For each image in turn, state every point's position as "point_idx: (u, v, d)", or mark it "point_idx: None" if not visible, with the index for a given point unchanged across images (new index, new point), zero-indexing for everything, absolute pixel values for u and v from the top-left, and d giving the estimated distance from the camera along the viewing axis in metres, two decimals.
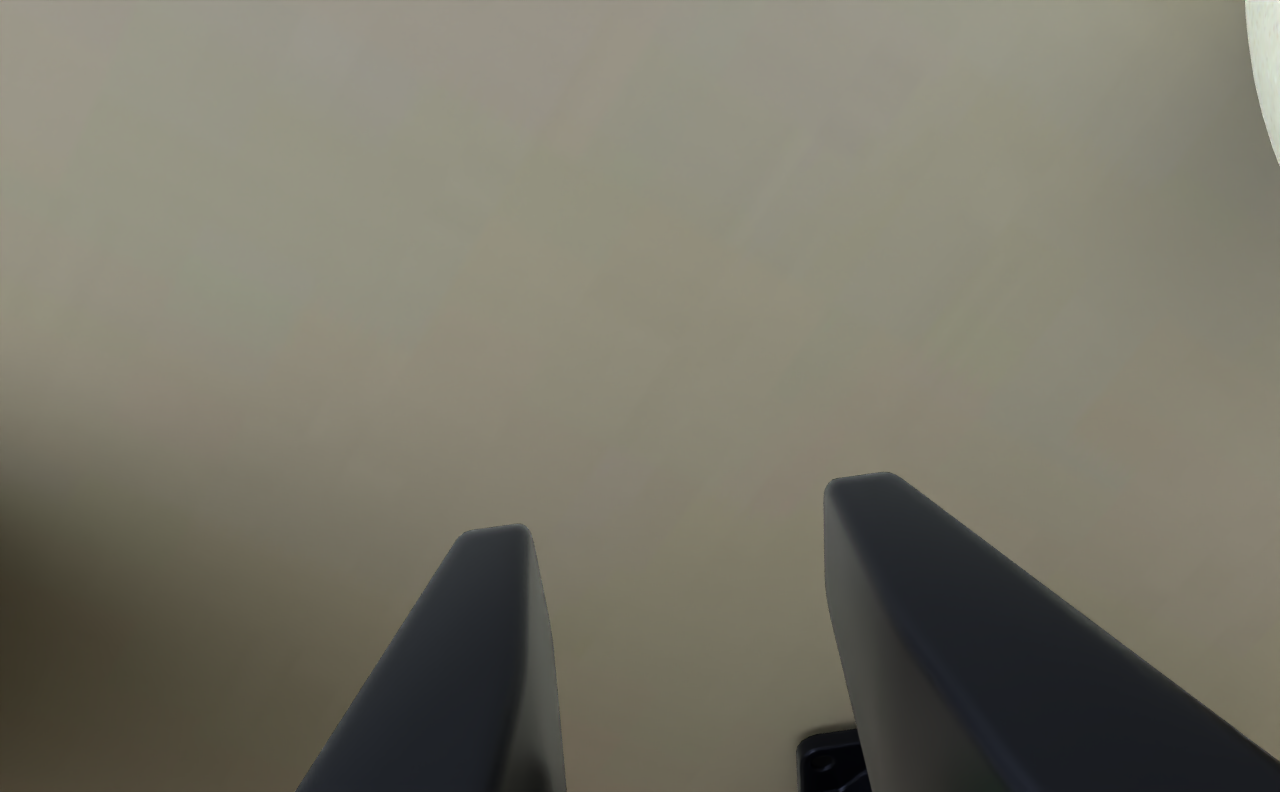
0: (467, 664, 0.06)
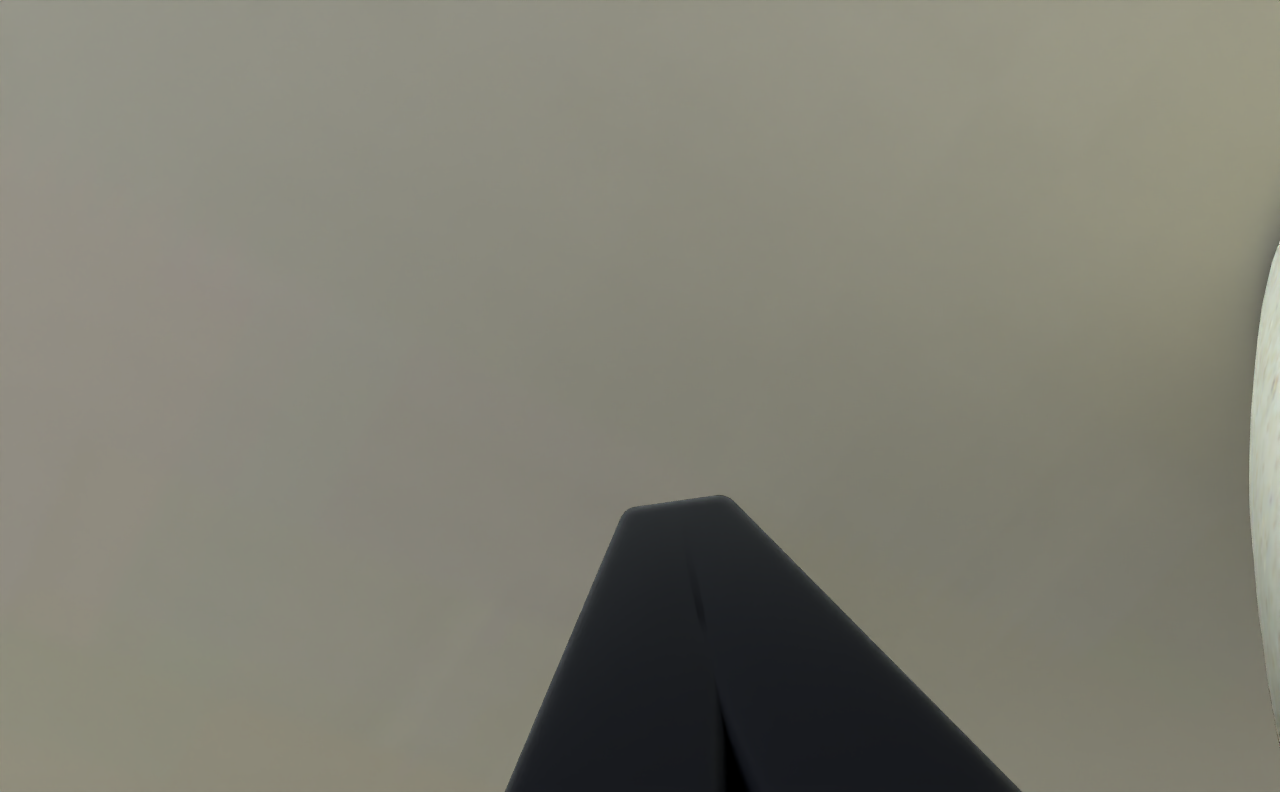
0: (666, 636, 0.06)
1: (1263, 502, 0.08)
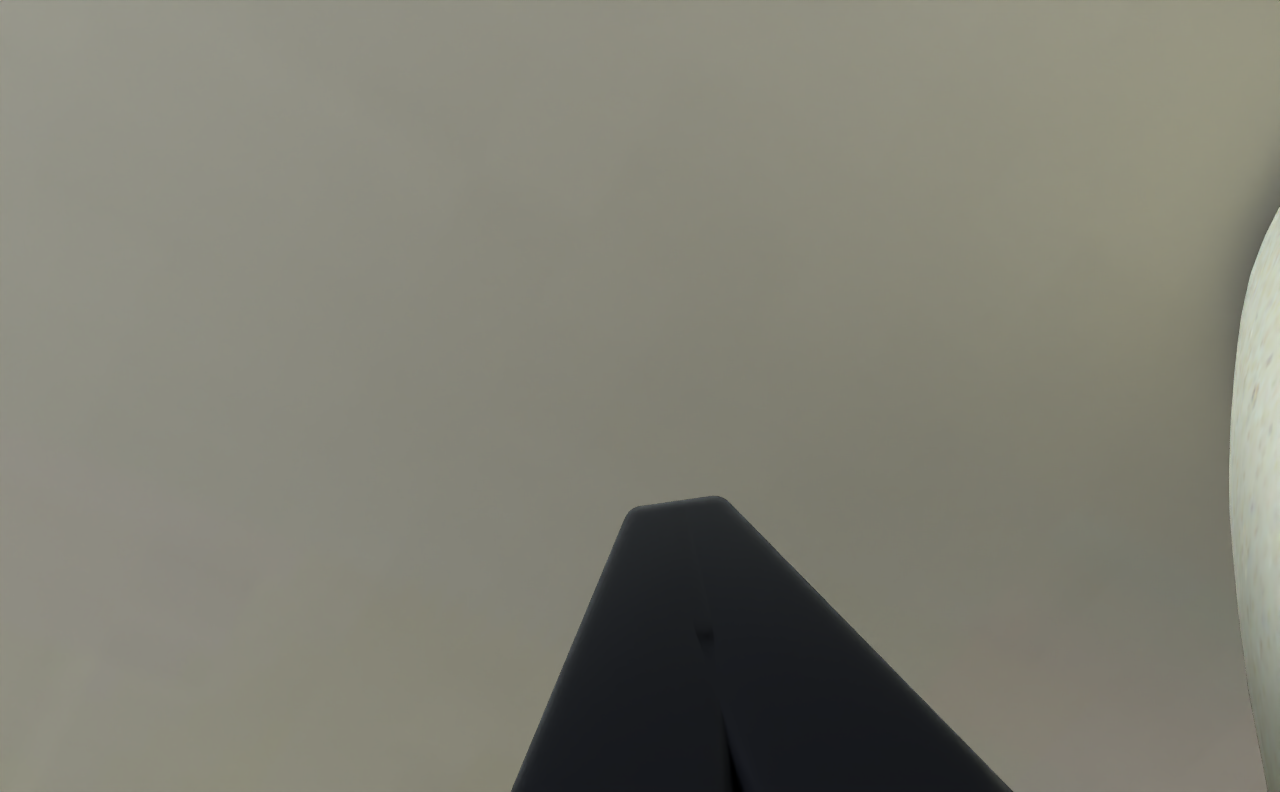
0: (671, 635, 0.06)
1: (1244, 510, 0.08)
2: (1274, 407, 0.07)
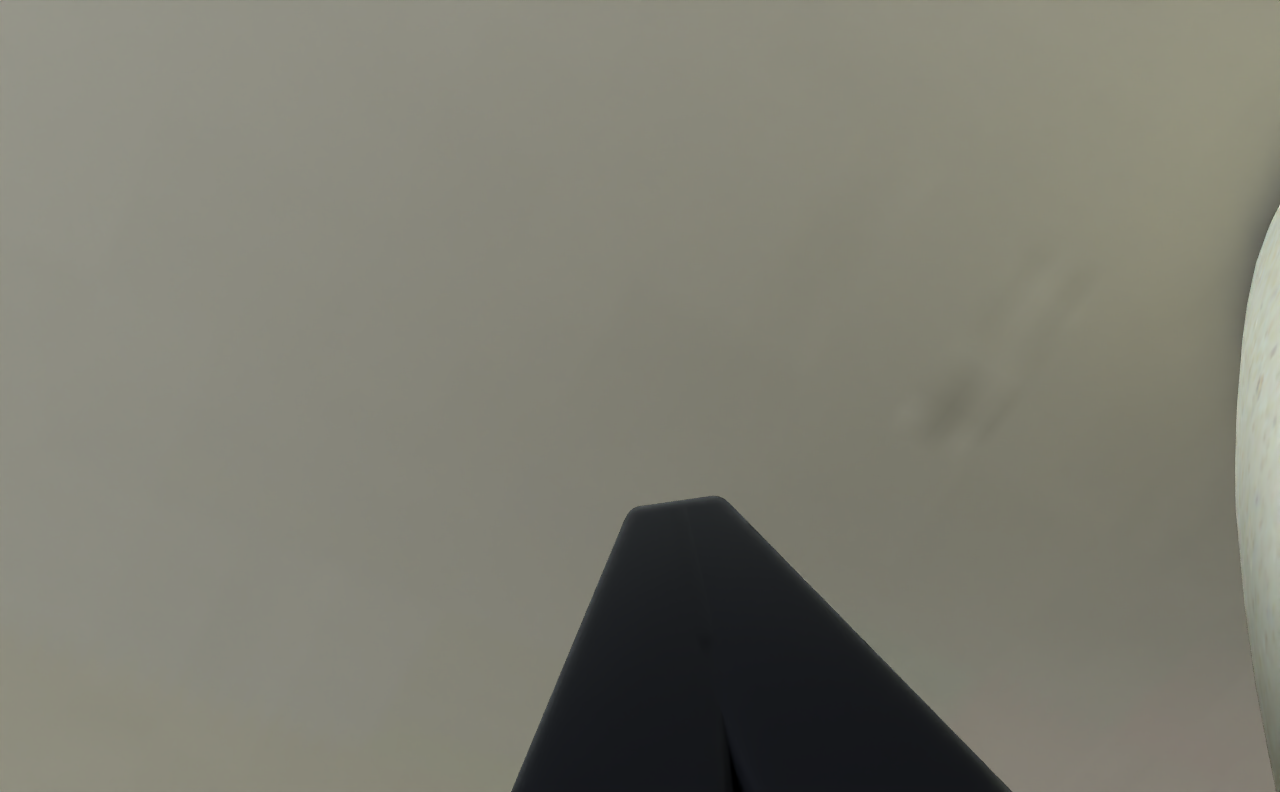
0: (672, 635, 0.06)
1: (1249, 502, 0.08)
2: (1278, 399, 0.07)
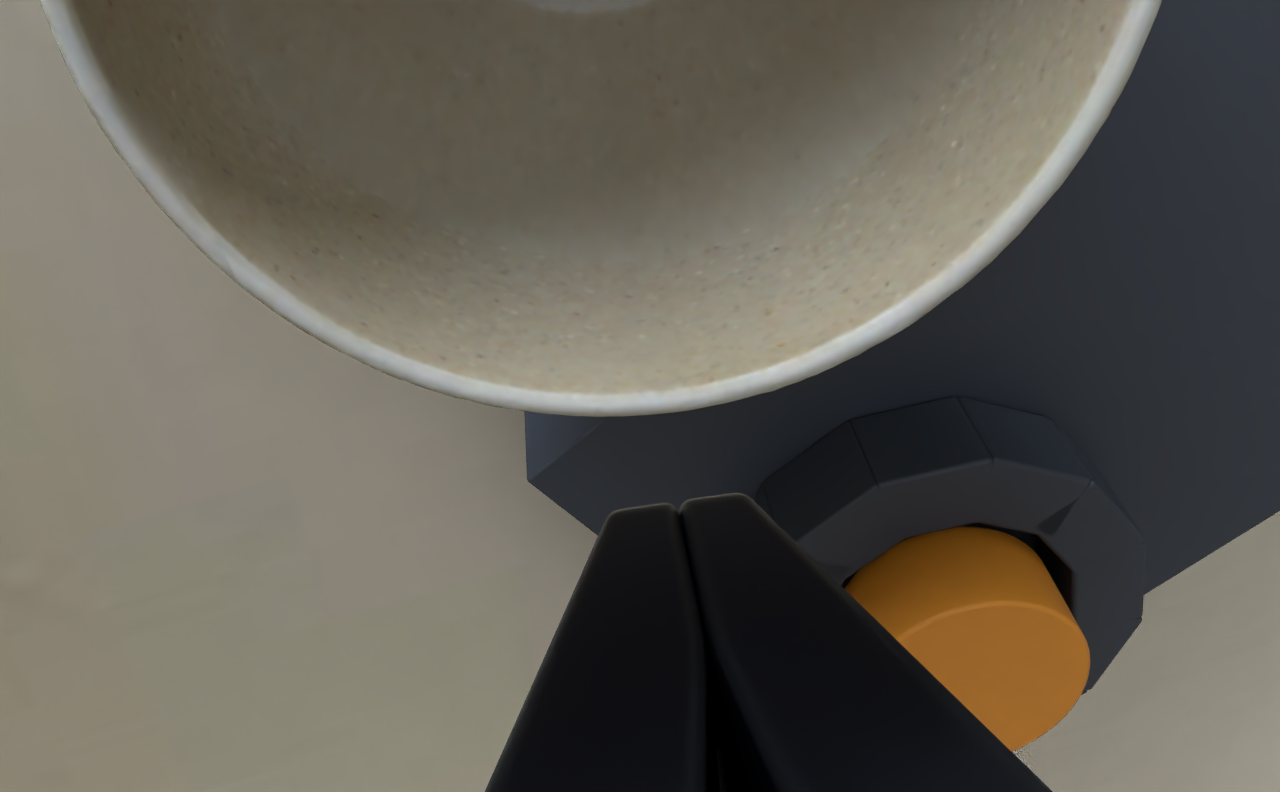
0: (648, 638, 0.06)
1: None
2: None
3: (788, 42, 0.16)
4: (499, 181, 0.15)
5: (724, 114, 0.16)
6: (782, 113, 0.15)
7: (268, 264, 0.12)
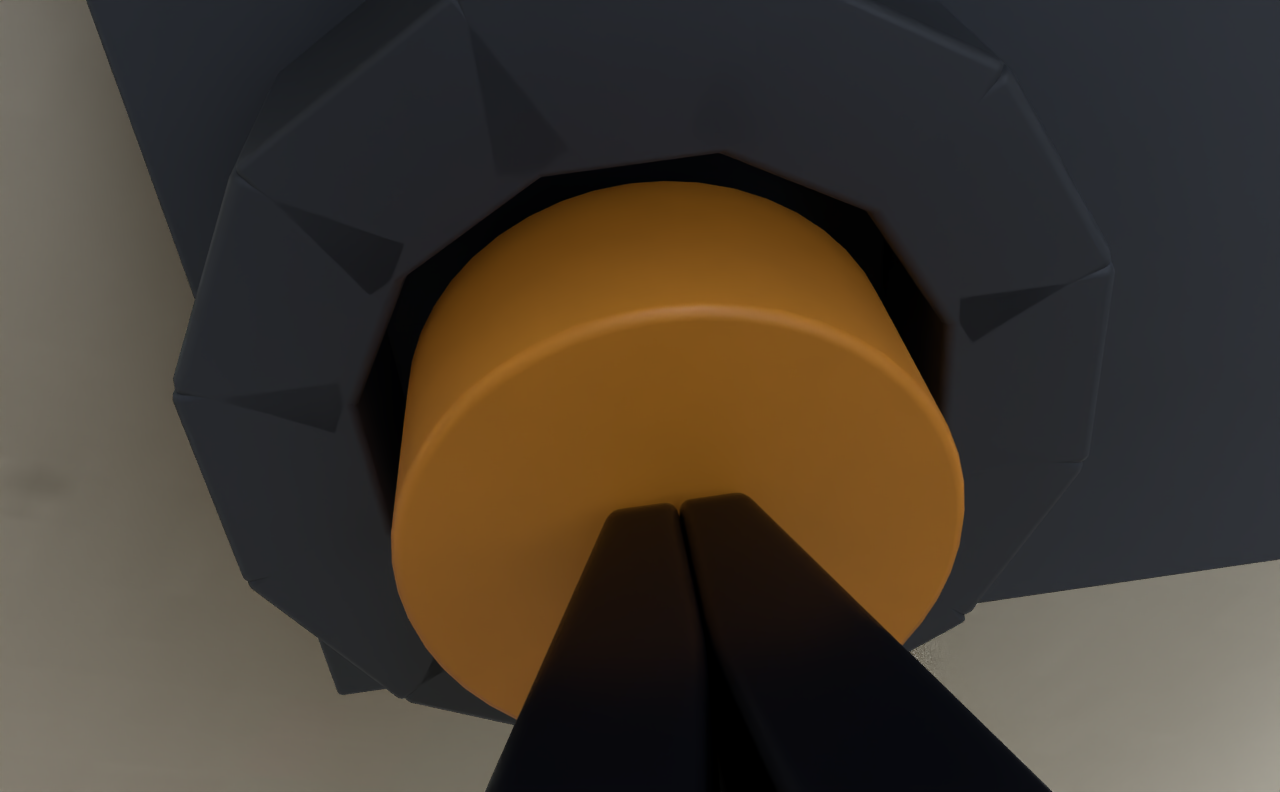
0: (648, 638, 0.06)
1: None
2: None
3: None
4: None
5: None
6: None
7: None
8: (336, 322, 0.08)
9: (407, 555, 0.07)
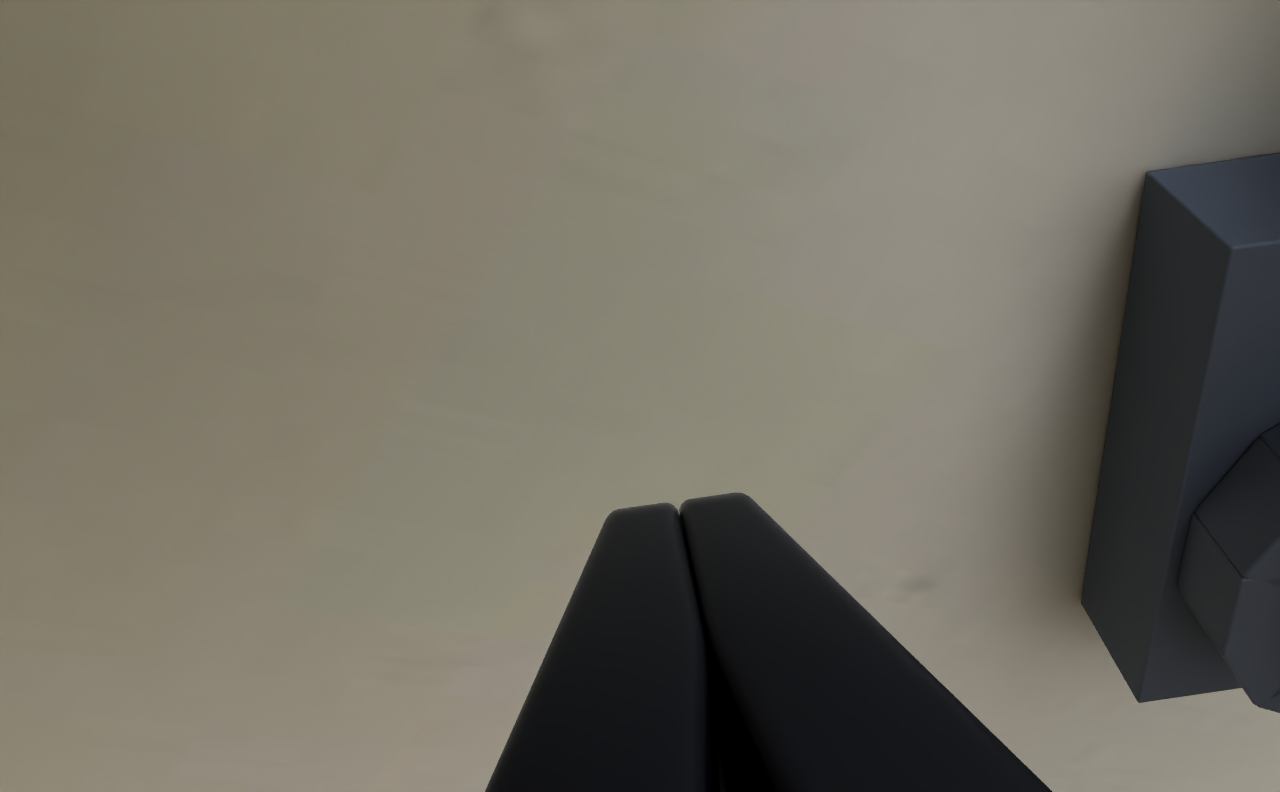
0: (647, 638, 0.06)
1: None
2: None
3: None
4: None
5: None
6: None
7: None
8: None
9: None
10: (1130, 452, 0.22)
